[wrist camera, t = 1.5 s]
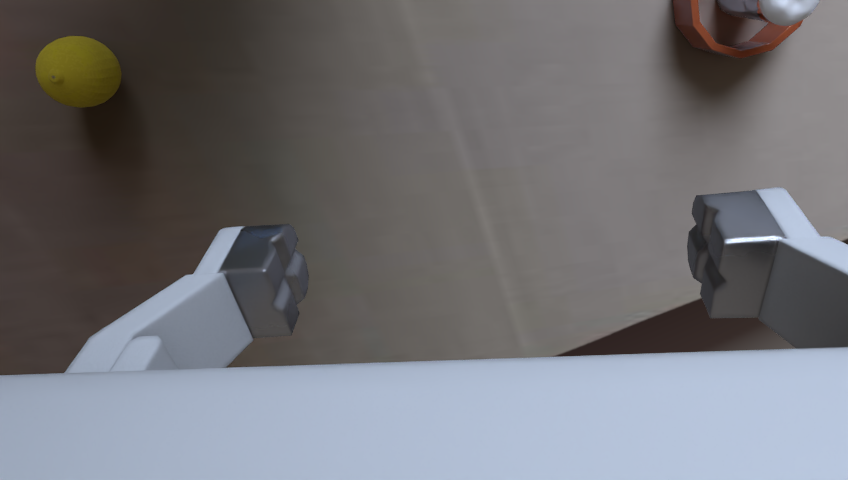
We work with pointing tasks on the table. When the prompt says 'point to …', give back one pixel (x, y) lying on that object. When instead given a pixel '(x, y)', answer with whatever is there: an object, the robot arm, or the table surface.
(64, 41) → the lemon
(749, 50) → the orange round shallow bowl
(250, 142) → the table surface
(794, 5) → the milkshake
